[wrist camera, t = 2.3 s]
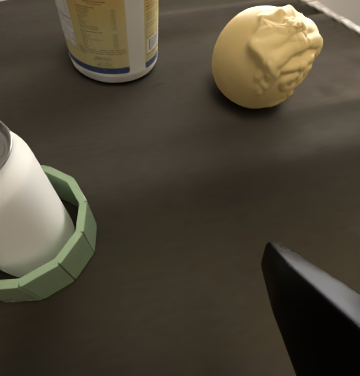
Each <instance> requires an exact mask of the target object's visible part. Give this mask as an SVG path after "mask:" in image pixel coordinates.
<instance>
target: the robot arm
mask: <svg viewBox="0 0 360 376" xmlns="http://www.w3.org/2000/svg"><path fill="white" fill-rule="evenodd" d="M261 267H262V271H263V275H264V279H265V283H266V287H267V291H268V295H269V299H270V303H271V307H272V310H273V313H274V316H275V319H276V322H277V324H278V327H279V330H280V332H281V335H282V338H283V341H284V343H285V346H286V349H287V351H288V354H289V357H290V360H291V362H292V365H293V368H294V370H295V373H296V376H360V294H359V293H358V292H356V291H355V290H353V289H352V288H350V287H349V286H347V285H345V284H344V283H342V282H341V281H339V280H338V279H336V278H334V277H333V276H331V275H330V274H328V273H327V272H325V271H324V270H322V269H320V268H319V267H317V266H316V265H314V264H313V263H311V262H310V261H308V260H306V259H305V258H303V257H302V256H300V255H299V254H297V253H295V252H294V251H292V250H291V249H289V248H288V247H286V246H285V245H283V244H281V243H279V242H268V243H267V244H266V247H265V251H264V254H263V258H262V262H261Z"/></svg>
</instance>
